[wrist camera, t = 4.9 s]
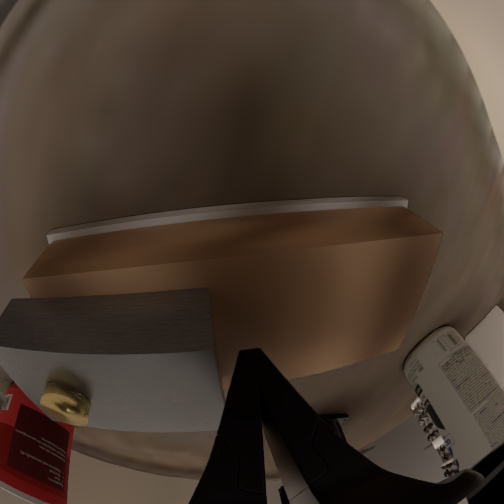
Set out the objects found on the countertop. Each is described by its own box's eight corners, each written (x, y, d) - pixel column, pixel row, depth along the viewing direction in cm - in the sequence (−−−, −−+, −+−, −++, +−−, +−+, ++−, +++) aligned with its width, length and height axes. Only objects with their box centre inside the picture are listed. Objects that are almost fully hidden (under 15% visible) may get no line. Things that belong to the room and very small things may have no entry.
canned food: (22, 407, 17) (6, 488, 7) (-1, 368, 13) (-30, 468, 4) (81, 429, 19) (75, 517, 10) (68, 397, 16) (53, 512, 6)
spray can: (389, 368, 20) (473, 536, 3) (442, 314, 18) (551, 482, 1) (416, 374, 23) (487, 508, 6) (459, 330, 21) (546, 462, 4)
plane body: (401, 196, 12) (448, 226, 9) (372, 312, 16) (400, 351, 13) (52, 229, 10) (14, 272, 7) (102, 347, 13) (91, 395, 10)
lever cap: (208, 286, 8) (216, 373, 5) (222, 378, 11) (231, 444, 8) (11, 298, 7) (-23, 358, 4) (62, 378, 10) (49, 433, 7)
